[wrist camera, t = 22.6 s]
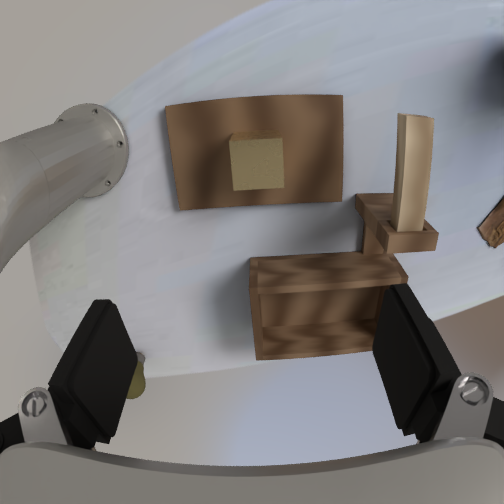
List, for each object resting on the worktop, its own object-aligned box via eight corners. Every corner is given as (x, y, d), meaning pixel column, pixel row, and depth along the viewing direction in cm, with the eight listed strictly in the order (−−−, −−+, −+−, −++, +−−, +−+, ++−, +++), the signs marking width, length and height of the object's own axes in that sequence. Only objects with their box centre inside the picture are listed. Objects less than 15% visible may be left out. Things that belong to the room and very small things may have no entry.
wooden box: (256, 327, 50) (256, 386, 39) (245, 198, 39) (240, 243, 29) (377, 318, 49) (398, 372, 38) (397, 193, 38) (439, 233, 28)
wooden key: (387, 244, 32) (394, 253, 30) (397, 113, 25) (406, 115, 23) (411, 242, 32) (418, 251, 30) (423, 115, 25) (433, 118, 23)
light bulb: (122, 342, 53) (105, 384, 44) (150, 344, 52) (135, 388, 44) (130, 362, 55) (116, 402, 47) (157, 364, 55) (145, 407, 46)
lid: (182, 205, 40) (167, 231, 33) (168, 105, 33) (148, 111, 27) (338, 196, 39) (355, 221, 32) (339, 94, 33) (358, 97, 26)
